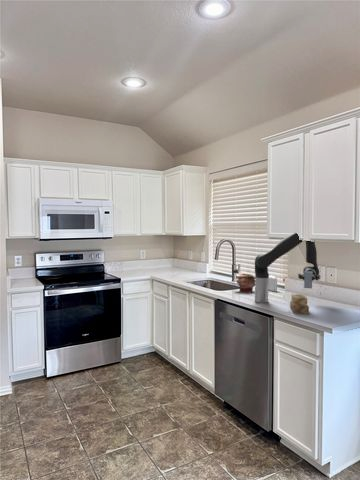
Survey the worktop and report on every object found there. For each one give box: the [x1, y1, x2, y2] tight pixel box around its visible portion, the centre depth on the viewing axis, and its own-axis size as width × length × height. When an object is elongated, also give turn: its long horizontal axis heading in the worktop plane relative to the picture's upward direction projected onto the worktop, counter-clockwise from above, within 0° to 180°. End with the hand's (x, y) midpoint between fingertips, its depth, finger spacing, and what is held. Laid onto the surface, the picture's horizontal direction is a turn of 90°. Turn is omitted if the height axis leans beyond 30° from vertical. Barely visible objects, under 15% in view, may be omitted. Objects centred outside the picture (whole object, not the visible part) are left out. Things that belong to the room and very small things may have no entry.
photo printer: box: [268, 275, 278, 292], centre depth 287 cm, size 10×4×12 cm, turn 30°
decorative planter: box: [235, 273, 255, 293], centre depth 281 cm, size 20×12×14 cm, turn 115°
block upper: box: [290, 293, 308, 307], centre depth 218 cm, size 8×12×5 cm, turn 167°
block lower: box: [289, 300, 310, 315], centre depth 218 cm, size 9×14×5 cm, turn 170°
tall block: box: [303, 271, 313, 290], centre depth 216 cm, size 4×4×10 cm
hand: (308, 278), depth 214 cm, fingers closed on tall block, 4 cm apart
